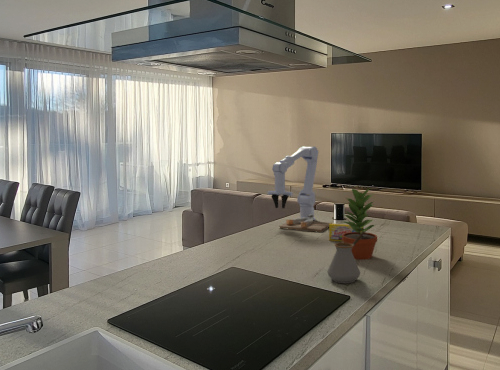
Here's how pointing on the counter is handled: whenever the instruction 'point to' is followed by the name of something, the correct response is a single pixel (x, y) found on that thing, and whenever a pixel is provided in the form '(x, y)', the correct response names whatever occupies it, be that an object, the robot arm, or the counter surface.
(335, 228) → the candy box
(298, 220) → the tongs swing arm
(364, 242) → the potted plant
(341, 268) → the coffee pot
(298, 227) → the walnut board
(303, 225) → the tongs fixed arm
